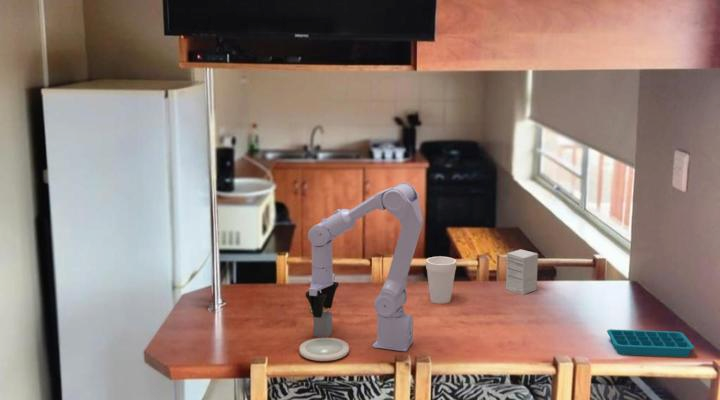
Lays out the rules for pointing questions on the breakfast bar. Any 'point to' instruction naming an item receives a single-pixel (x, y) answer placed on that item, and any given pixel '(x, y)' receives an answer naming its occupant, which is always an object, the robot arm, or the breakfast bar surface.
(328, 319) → the block
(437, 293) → the foam cup
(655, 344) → the ice cube tray
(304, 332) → the breakfast bar surface
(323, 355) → the dish
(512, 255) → the supplement box
